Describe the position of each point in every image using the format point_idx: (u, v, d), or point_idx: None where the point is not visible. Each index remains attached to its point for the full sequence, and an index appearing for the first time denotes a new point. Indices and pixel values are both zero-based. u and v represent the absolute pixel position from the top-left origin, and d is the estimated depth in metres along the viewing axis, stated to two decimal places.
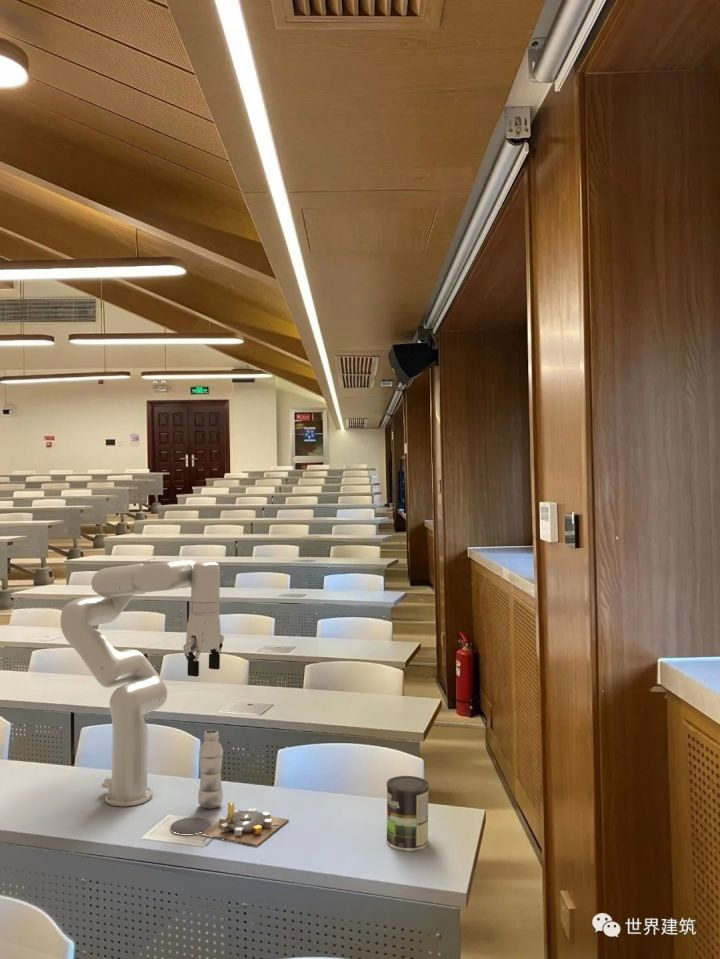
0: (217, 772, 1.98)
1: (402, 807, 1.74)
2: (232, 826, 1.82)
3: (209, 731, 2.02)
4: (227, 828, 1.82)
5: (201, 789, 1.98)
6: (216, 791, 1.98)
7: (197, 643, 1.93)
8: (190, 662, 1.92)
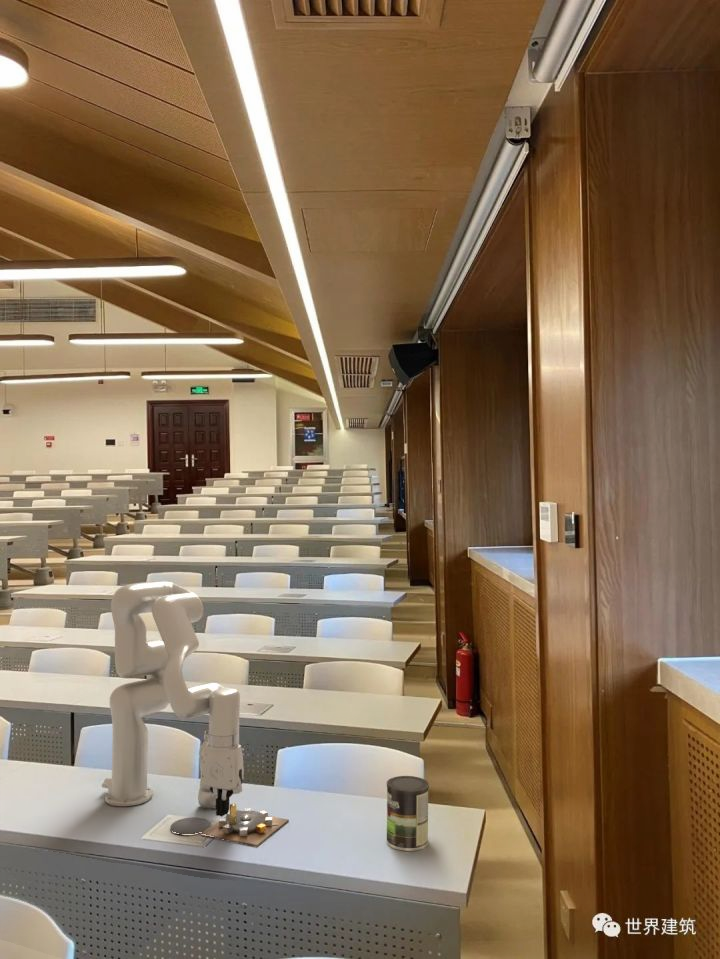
0: None
1: (402, 807, 1.74)
2: (235, 827, 1.81)
3: None
4: (230, 829, 1.81)
5: (201, 789, 1.98)
6: None
7: (242, 775, 1.83)
8: (227, 800, 1.83)
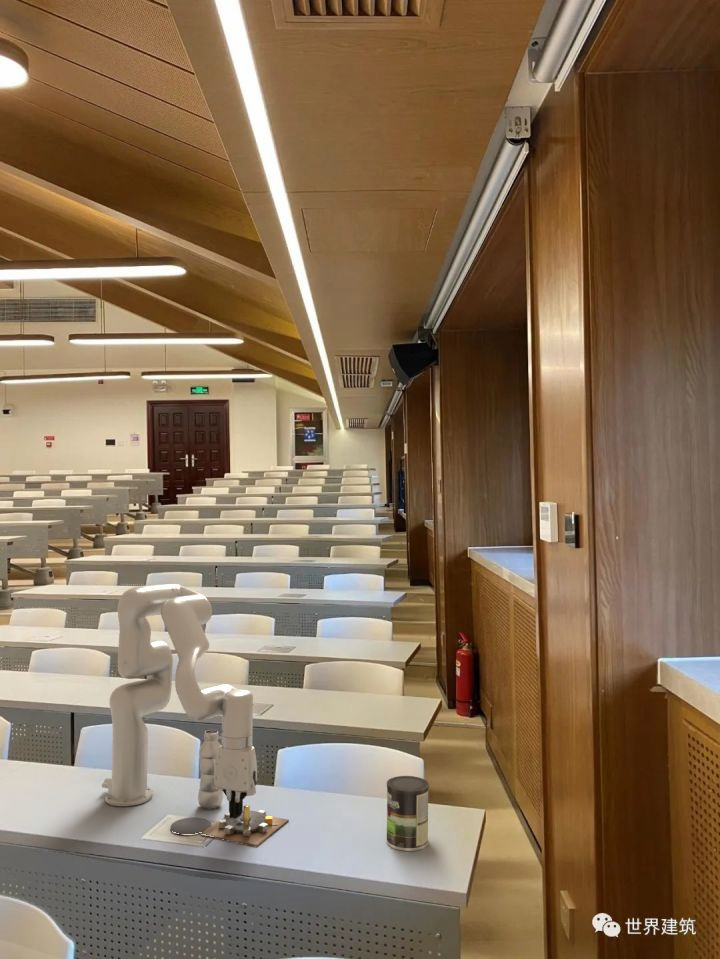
0: None
1: (402, 807, 1.74)
2: (253, 826, 1.82)
3: (209, 731, 2.02)
4: (250, 830, 1.81)
5: (201, 789, 1.98)
6: (216, 791, 1.98)
7: (256, 777, 1.82)
8: (240, 802, 1.82)
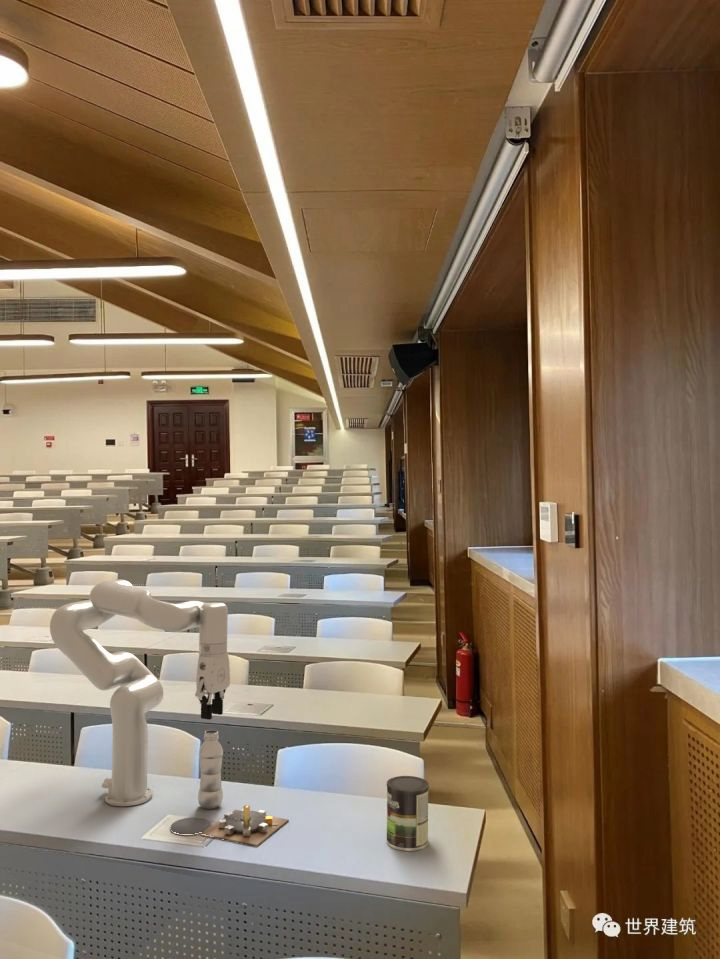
0: (217, 772, 1.98)
1: (402, 807, 1.74)
2: (253, 826, 1.82)
3: (209, 731, 2.02)
4: (250, 830, 1.81)
5: (201, 789, 1.98)
6: (216, 791, 1.98)
7: None
8: None
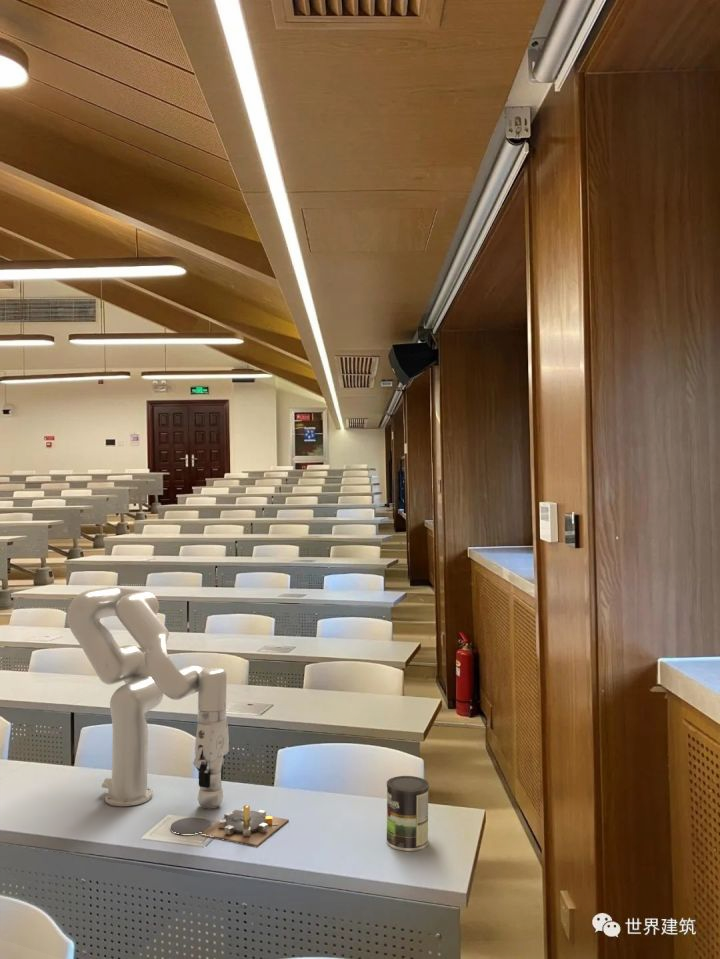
0: (217, 772, 1.98)
1: (402, 808, 1.74)
2: (253, 826, 1.82)
3: None
4: (250, 830, 1.81)
5: (201, 789, 1.98)
6: (217, 791, 1.98)
7: None
8: None
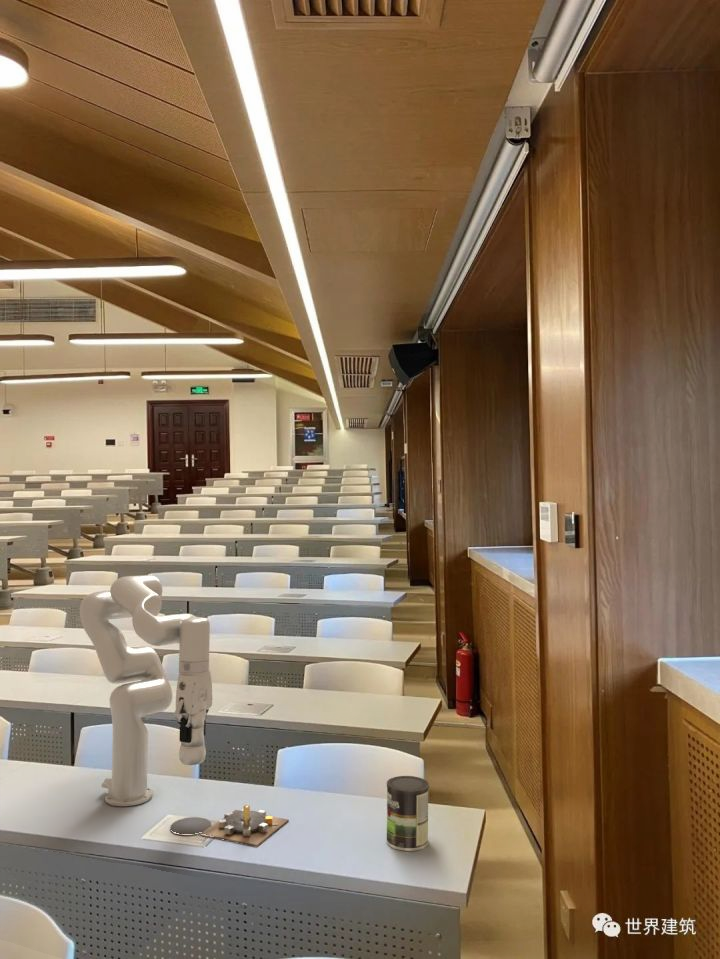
0: (200, 726, 1.86)
1: (402, 807, 1.74)
2: (253, 826, 1.82)
3: None
4: (250, 830, 1.81)
5: (182, 744, 1.85)
6: (199, 747, 1.85)
7: None
8: None
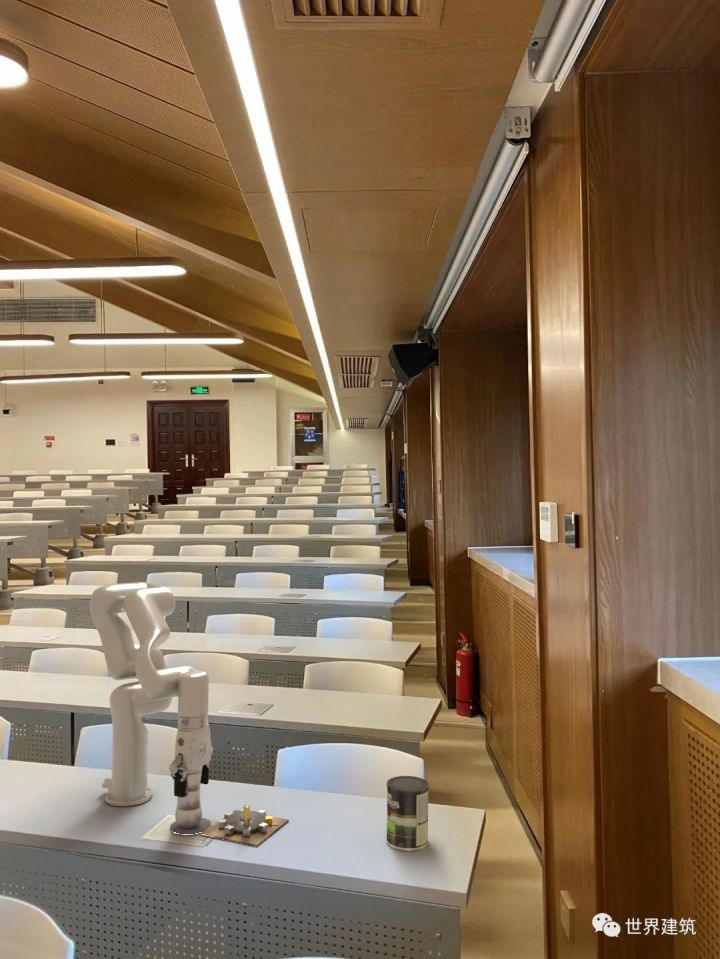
0: (196, 789, 1.84)
1: (402, 807, 1.74)
2: (253, 826, 1.82)
3: None
4: (250, 830, 1.81)
5: (178, 807, 1.84)
6: (195, 809, 1.84)
7: None
8: None
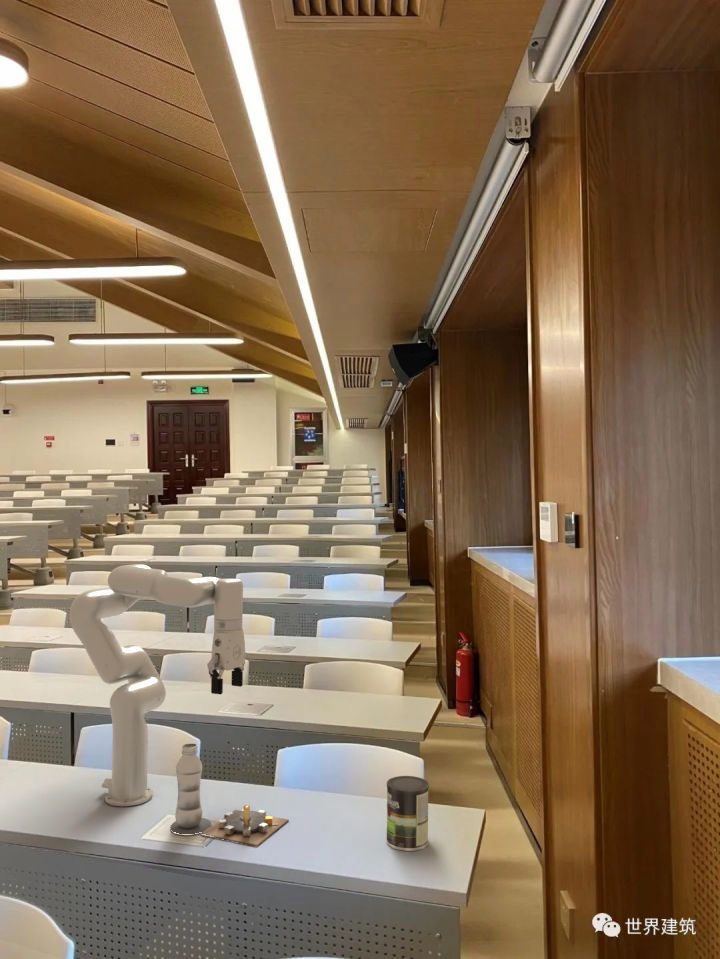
0: (196, 789, 1.84)
1: (402, 807, 1.74)
2: (253, 826, 1.82)
3: (187, 745, 1.88)
4: (250, 830, 1.81)
5: (178, 807, 1.84)
6: (195, 809, 1.84)
7: None
8: None
